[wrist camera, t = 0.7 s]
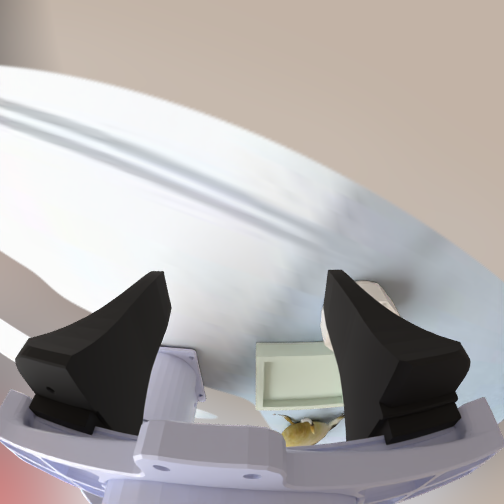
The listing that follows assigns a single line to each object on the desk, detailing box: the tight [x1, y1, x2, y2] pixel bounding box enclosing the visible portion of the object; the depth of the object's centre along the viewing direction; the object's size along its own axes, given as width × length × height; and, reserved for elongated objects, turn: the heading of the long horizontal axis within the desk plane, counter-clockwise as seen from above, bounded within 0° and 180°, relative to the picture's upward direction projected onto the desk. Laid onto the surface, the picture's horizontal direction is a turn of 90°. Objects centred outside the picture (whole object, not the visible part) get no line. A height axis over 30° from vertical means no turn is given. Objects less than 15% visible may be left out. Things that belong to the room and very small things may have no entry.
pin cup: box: [320, 280, 400, 352], centre depth 24 cm, size 6×6×3 cm
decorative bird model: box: [273, 414, 345, 447], centre depth 34 cm, size 4×13×10 cm
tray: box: [256, 342, 344, 410], centre depth 29 cm, size 10×11×2 cm
